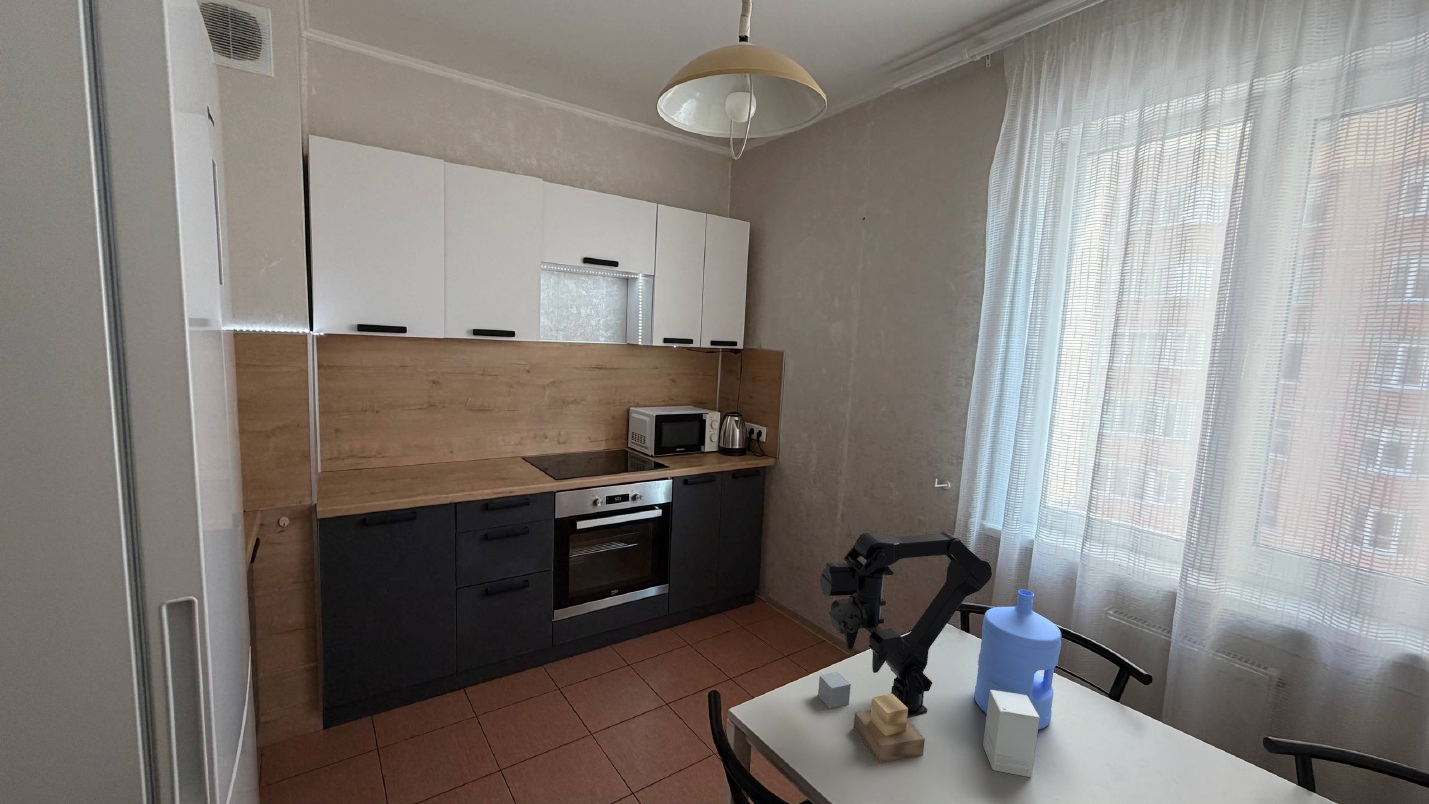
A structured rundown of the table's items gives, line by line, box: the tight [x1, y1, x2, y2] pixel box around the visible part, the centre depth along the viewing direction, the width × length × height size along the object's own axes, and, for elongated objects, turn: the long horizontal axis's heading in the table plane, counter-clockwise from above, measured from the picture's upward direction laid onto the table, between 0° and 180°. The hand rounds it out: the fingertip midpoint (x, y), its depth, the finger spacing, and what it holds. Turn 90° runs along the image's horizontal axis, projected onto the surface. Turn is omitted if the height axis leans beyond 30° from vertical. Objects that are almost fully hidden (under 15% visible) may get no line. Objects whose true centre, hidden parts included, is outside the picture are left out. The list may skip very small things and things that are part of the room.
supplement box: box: [982, 690, 1040, 778], centre depth 114 cm, size 7×7×13 cm
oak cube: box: [870, 693, 908, 736], centre depth 118 cm, size 5×5×5 cm
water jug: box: [973, 589, 1062, 730], centre depth 130 cm, size 16×16×28 cm
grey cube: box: [817, 671, 851, 710], centre depth 131 cm, size 5×5×5 cm
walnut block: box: [853, 709, 926, 763], centre depth 118 cm, size 10×10×4 cm
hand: (862, 660), depth 126 cm, fingers open, 9 cm apart
